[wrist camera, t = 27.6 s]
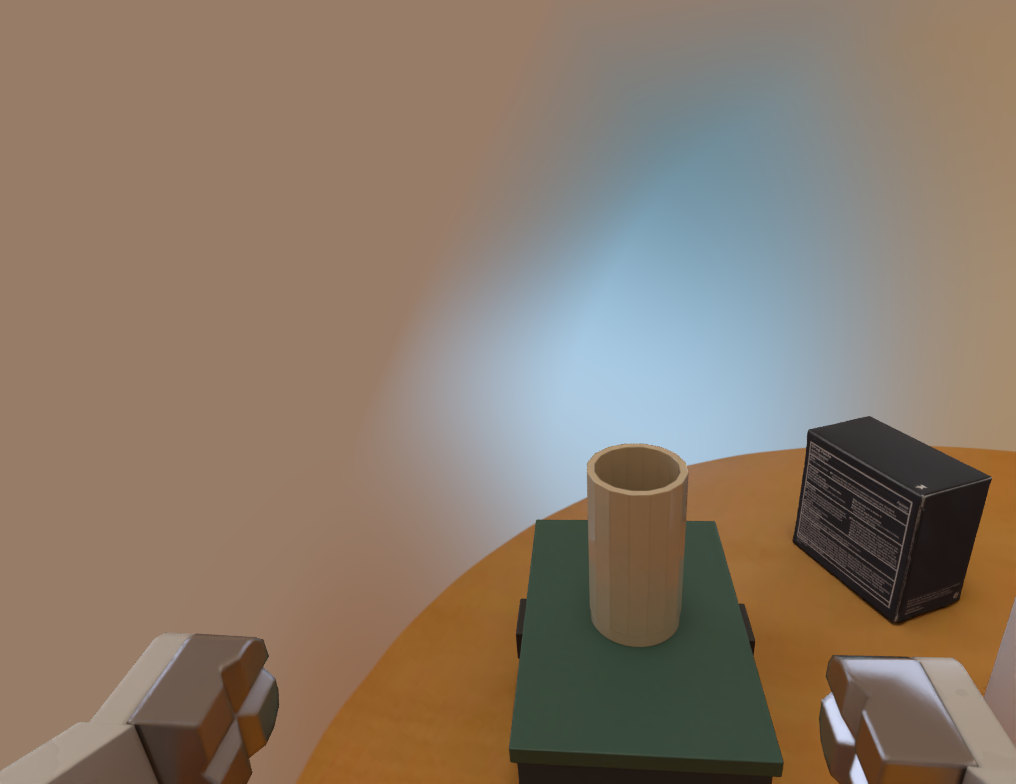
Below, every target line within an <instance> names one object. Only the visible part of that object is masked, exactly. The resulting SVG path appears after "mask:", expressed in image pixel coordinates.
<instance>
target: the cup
mask: <svg viewBox="0 0 1016 784" xmlns="http://www.w3.org/2000/svg"><path fill="white" fill-rule="evenodd" d="M687 492H688V469H687V465H686V463H685V461H683V460H682V459H681V458H680V457H679V456H678V455H677V454H675V453H673V452H671V451H669V450H667V449H664V448H662V447H658V446H653V445H648V444H621V445H617V446H611V447H608V448H605V449H603V450H601V451H599V452H597V453H595V454H594V455H593V456H592V458H591V459H590V460H589V461H588V463H587V495H588V544H589V593H590V617H591V620H592V622H593V625H594V626H595V628H596V629H597V630H598V631H599V632H600V633H601V634H602V635H603V636H605V637H606V638H608V639H609V640H611V641H613V642H616V643H618V644H621V645H625V646H630V647H648V646H653V645H657V644H660V643H662V642H664V641H666V640H667V639H669V638H670V637H671V636H672V635H673V634H674V633H675V632H676V630H677V629H678V627H679V623H680V612H681V608H682V588H683V569H684V550H685V531H686V511H687Z"/></svg>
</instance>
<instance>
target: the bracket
mask: <svg viewBox="0 0 1016 784" xmlns="http://www.w3.org/2000/svg"><path fill="white" fill-rule="evenodd" d="M984 699H985V701H986V702H987V704H988V706H989V707H990V709H991V710H992V712H993V713H994V715H995V716H996V718H997V720H998V721H999V723H1000V724H1001V726H1002V727H1003V729H1004V730H1005V732H1006V733H1007V735H1008V737H1009V738H1010V740H1011V741H1012V743H1013V744H1014V746H1015V747H1016V597H1015V601H1014V604H1013V607H1012V610H1011V613H1010V616H1009V619H1008V623H1007V626H1006V629H1005V632H1004V635H1003V638H1002V642H1001V645H1000V648H999V651H998V654H997V657H996V661H995V664H994V667H993V670H992V673H991V676H990V680H989V683H988V686H987V689H986V692H985V695H984Z"/></svg>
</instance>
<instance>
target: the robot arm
mask: <svg viewBox="0 0 1016 784" xmlns="http://www.w3.org/2000/svg"><path fill="white" fill-rule="evenodd" d="M268 657H269V655H268V652H267V649H266V646H265V644H264V640H263V639H259V638H256V637H243V636H225V635H209V634H181V633H164V634H162V635H160V636H158V637H157V638H155V639H154V640H153V641H152V643H151V644H150V645H149V646H148V648H147V649H146V650H145V652H144V653H143V654H142V655H141V657H140V658H139V659H138V661H137V662H136V663H135V664H134V666H133V667H132V668H131V670H130V671H129V672H128V673H127V675H126V676H125V677H124V679H123V680H122V681H121V682H120V684H119V685H118V686H117V688H116V689H115V690H114V691H113V692H112V694H111V695H110V696H109V698H108V699H107V700H106V702H105V703H104V704H103V705H102V707H101V708H100V709H99V710H98V712H97V713H96V714H95V716H94V717H93V718H92V719H91V721H90V722H79V723H77V724H76V725H74V726H72V727H71V728H69V729H68V730H66V731H64V732H63V733H61V734H59V735H58V736H56V737H55V738H53V739H51V740H50V741H48V742H47V743H45V744H43V745H42V746H40V747H39V748H37V749H35V750H34V751H32V752H31V753H29V754H27V755H26V756H24V757H22V758H21V759H19V760H18V761H16V762H14V763H13V764H11V765H10V766H8V767H6V768H5V769H3V770H2V771H0V784H247V783H248V781H249V779H250V777H251V775H252V769H251V765H250V760H249V758H250V757H251V756H252V755H254V754H255V753H256V752H258V751H259V750H260V749H261V748H263V747H264V746H265V745H266V744H267V742H268V739H269V737H270V735H271V733H272V731H273V729H274V726H275V721H276V717H277V712H278V708H279V695H278V694H279V693H278V687H277V684H276V679H275V678H274V677H273V676H272V675H271V674H270V673H269V672H268V671H267V670H265V669H264V668H263V666H264V664H265V662H266V660H267V659H268ZM826 678H827V681H828V683H829V686H830V688H831V691H832V692H831V693H830V694H828V695H827V696H826V697H825V698H824V699H822V701H821V709H820V717H819V722H820V737H821V743H822V748H823V752H824V757H825V760H826V763H827V766H828V769H829V772H830V775H831V776H832V777H833V778H834V779H835V780H836V781H838V782H839V783H840V784H1016V747H1015V746H1014V744H1013V743H1012V741H1011V740H1010V738H1009V737H1008V735H1007V733H1006V732H1005V730H1004V729H1003V727H1002V726H1001V724H1000V723H999V721H998V720H997V718H996V716H995V715H994V713H993V712H992V710H991V709H990V707H989V706H988V704H987V702H986V701H985V699H984V698H983V696H982V695H981V693H980V692H979V690H978V689H977V687H976V685H975V684H974V682H973V681H972V679H971V678H970V676H969V675H968V673H967V672H966V670H965V668H964V667H963V665H962V664H961V663H960V662H958V661H957V660H956V659H954V658H935V657H912V658H909V657H892V656H846V655H833V656H832V657H831V659H830V661H829V662H828V667H827V672H826Z"/></svg>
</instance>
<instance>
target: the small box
mask: <svg viewBox="0 0 1016 784" xmlns="http://www.w3.org/2000/svg"><path fill="white" fill-rule="evenodd" d="M991 480H992V477H991V476H989V475H987V474H985V473H983V472H981V471H979V470H977V469H975V468H973V467H971V466H969V465H966V464H964V463H962V462H960V461H958V460H956V459H954V458H952V457H950V456H948V455H946V454H944V453H942V452H940V451H938V450H936V449H934V448H932V447H930V446H928V445H926V444H924V443H922V442H920V441H918V440H916V439H914V438H912V437H910V436H908V435H906V434H904V433H902V432H900V431H898V430H896V429H894V428H892V427H890V426H888V425H886V424H884V423H882V422H880V421H878V420H876V419H874V418H872V417H870V416H868V417H863V418H858V419H854V420H850V421H846V422H841V423H837V424H833V425H828V426H823V427H818V428H814V429H809V430H808V433H807V447H806V457H805V467H804V472H803V477H802V485H801V493H800V499H799V507H798V513H797V520H796V526H795V532H794V537H793V542H794V543H795V544H797V545H798V546H799V547H800V548H802V549H803V550H804V551H805V552H806V553H808V554H809V555H810V556H811V557H813V558H814V559H815V560H817V561H818V562H819V563H820V564H821V565H823V566H824V567H825V568H826V569H828V570H829V571H830V572H831V573H833V574H834V575H835V576H836V577H838V578H839V579H840V580H841V581H842V582H844V583H845V584H846V585H847V586H849V587H850V588H851V589H852V590H854V591H855V592H856V593H857V594H859V595H860V596H861V597H862V598H864V599H865V600H866V601H867V602H868V603H870V604H871V605H872V606H873V607H875V608H876V609H877V610H878V611H880V612H881V613H882V614H883V615H885V616H886V617H887V618H888V619H890V620H891V621H892V622H900V621H904V620H906V619H908V618H910V617H914V616H916V615H919V614H922V613H925V612H928V611H931V610H934V609H936V608H939V607H944V606H946V605H948V604H951V603H953V602H956V601H958V600H959V599H960V594H961V590H962V587H963V583H964V579H965V575H966V571H967V567H968V564H969V560H970V556H971V553H972V549H973V545H974V542H975V538H976V533H977V530H978V527H979V523H980V519H981V516H982V512H983V509H984V505H985V501H986V497H987V493H988V489H989V485H990V483H991Z"/></svg>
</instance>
